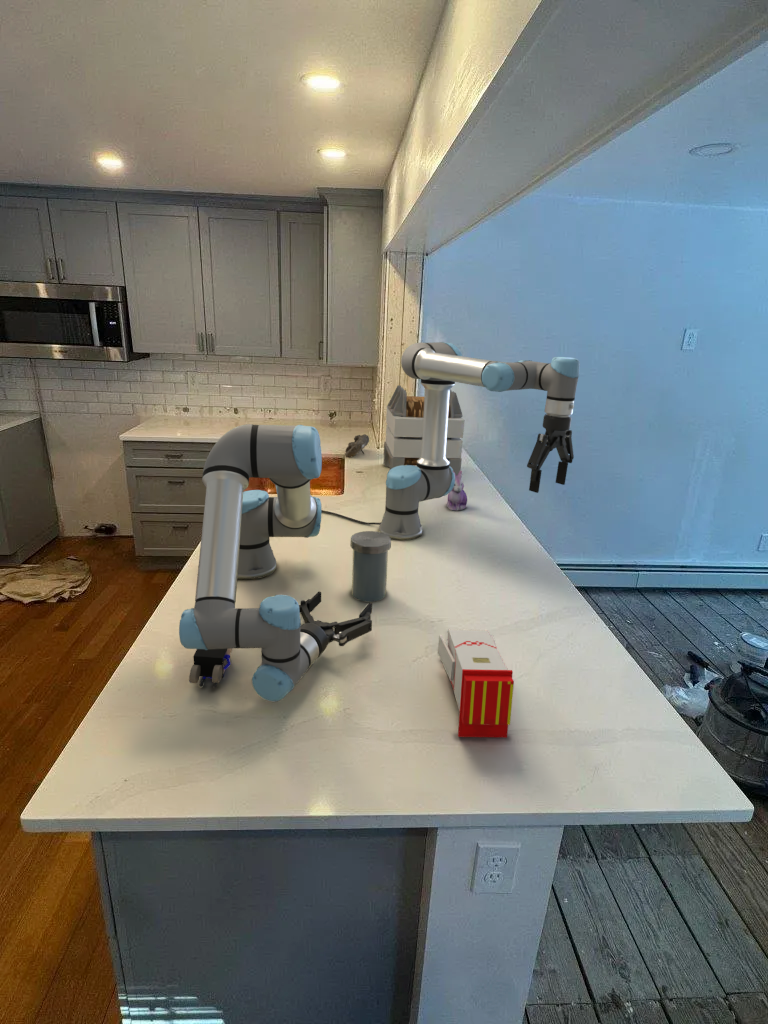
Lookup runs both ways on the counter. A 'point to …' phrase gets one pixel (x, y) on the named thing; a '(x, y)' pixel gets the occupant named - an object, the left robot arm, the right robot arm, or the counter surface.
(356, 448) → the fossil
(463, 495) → the figurine
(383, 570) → the jar
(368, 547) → the lid
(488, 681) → the toy
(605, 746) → the counter surface
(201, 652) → the black wheeled vehicle
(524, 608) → the counter surface
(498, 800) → the counter surface
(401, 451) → the white slatted box
